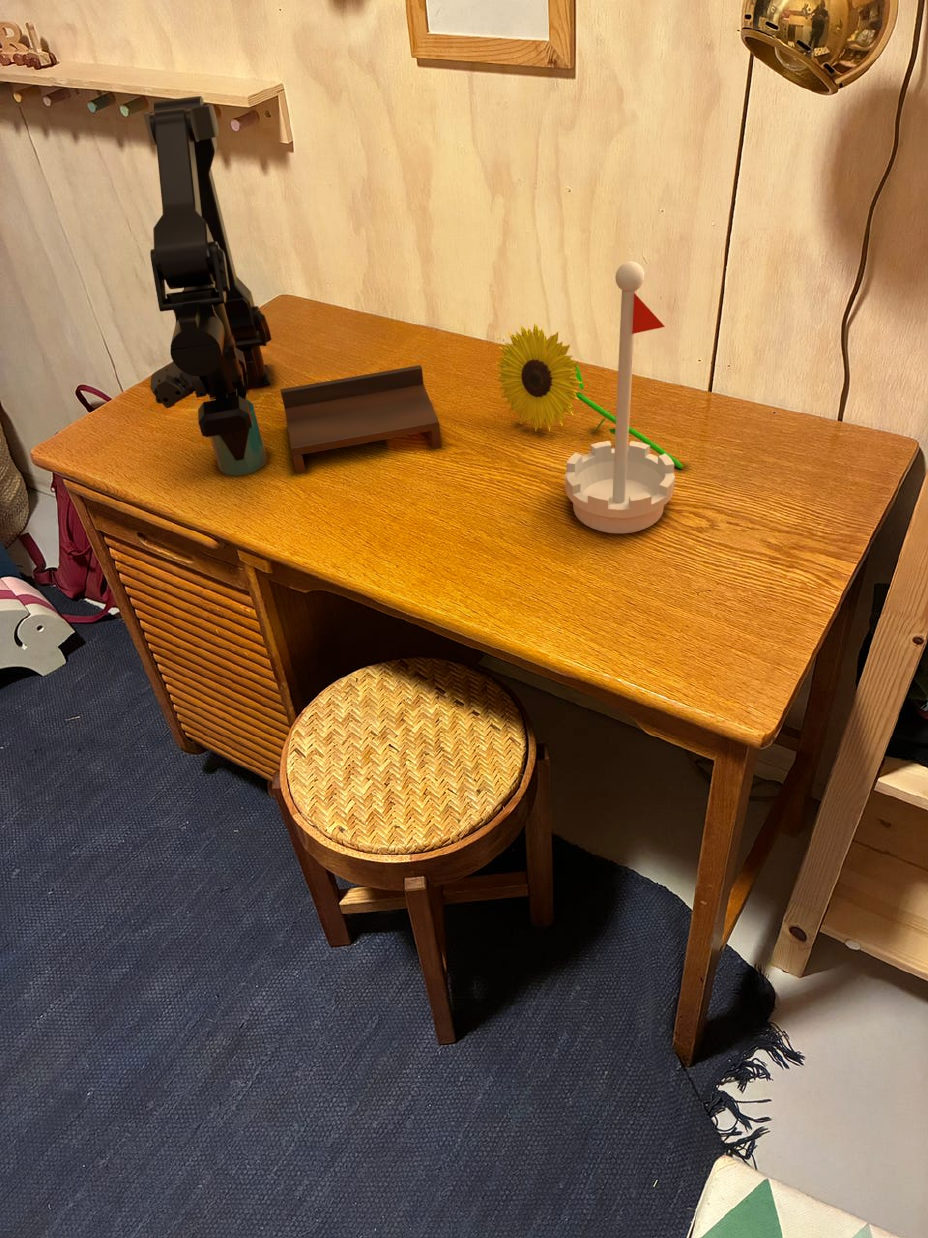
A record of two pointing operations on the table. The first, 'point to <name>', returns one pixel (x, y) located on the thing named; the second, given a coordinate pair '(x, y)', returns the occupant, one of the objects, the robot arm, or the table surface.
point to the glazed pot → (253, 452)
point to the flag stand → (622, 442)
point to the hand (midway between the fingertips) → (238, 446)
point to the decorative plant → (546, 382)
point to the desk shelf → (358, 411)
